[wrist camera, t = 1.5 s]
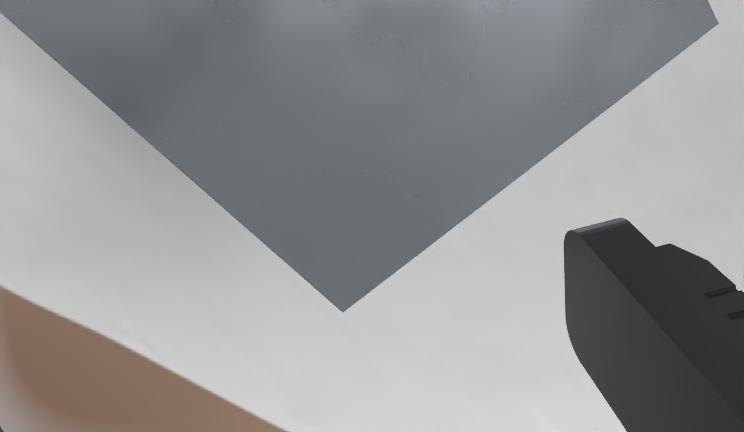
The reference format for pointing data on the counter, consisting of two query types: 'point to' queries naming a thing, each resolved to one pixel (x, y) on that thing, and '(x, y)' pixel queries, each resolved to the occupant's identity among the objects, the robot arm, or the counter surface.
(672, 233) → the counter surface
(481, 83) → the panel
